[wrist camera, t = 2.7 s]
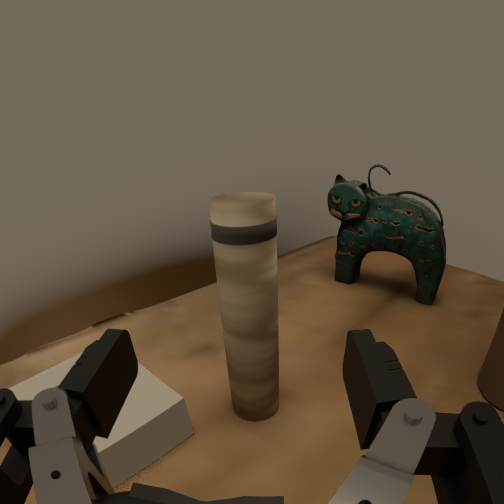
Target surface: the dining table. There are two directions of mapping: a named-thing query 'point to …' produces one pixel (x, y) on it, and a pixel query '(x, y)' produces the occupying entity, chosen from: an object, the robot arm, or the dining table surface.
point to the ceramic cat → (387, 232)
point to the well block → (128, 421)
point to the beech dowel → (248, 298)
